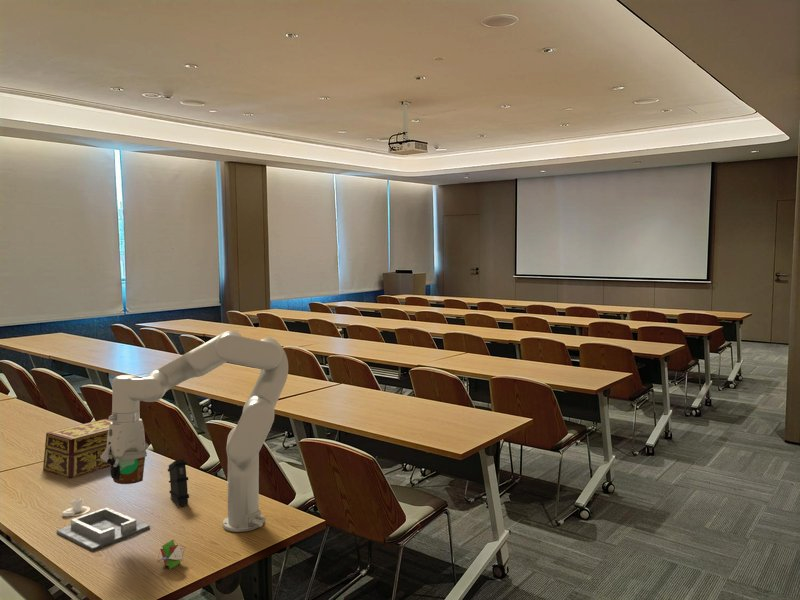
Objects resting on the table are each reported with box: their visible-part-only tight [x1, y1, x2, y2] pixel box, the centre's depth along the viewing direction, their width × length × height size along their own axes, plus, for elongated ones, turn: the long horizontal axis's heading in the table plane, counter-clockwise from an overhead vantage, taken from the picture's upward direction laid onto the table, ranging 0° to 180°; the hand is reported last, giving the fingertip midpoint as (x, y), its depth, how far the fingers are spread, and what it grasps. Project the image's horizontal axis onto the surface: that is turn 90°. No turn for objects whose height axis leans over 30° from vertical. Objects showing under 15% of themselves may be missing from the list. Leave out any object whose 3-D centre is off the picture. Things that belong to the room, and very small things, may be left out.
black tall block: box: [167, 458, 190, 508], centre depth 207 cm, size 4×13×15 cm, turn 35°
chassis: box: [56, 507, 151, 552], centre depth 183 cm, size 20×18×4 cm
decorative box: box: [42, 418, 112, 479], centre depth 243 cm, size 28×19×15 cm
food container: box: [109, 449, 148, 485], centre depth 180 cm, size 12×6×10 cm, turn 69°
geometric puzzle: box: [156, 539, 186, 571], centre depth 163 cm, size 7×7×8 cm
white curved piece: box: [61, 498, 91, 517], centre depth 197 cm, size 9×8×4 cm
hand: (124, 475), depth 180 cm, fingers closed on food container, 5 cm apart
